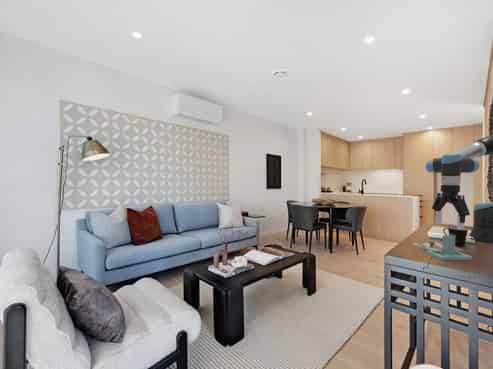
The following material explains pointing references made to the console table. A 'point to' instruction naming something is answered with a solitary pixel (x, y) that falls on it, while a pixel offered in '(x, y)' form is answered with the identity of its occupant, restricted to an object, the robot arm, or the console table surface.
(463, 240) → the coffee mug
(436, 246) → the boss board
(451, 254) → the panel
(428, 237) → the console table surface
